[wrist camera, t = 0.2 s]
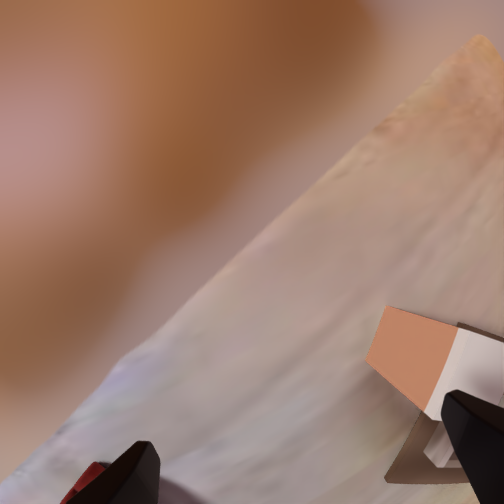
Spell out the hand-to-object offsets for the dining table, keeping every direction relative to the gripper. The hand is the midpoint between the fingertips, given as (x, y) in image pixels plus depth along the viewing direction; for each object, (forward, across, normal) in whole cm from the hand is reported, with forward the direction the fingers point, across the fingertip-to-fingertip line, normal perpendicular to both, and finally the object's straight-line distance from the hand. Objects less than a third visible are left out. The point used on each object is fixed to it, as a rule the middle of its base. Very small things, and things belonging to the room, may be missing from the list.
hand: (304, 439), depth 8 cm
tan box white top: (+14, -10, +7) cm, 18 cm away
